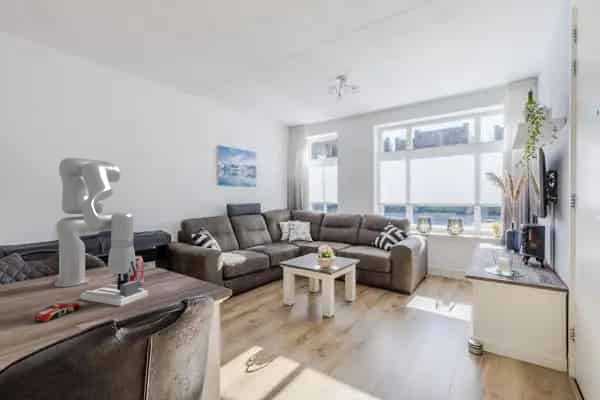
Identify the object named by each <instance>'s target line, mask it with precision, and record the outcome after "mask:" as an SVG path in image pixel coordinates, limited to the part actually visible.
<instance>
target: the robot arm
mask: <svg viewBox="0 0 600 400" xmlns="http://www.w3.org/2000/svg"><path fill="white" fill-rule="evenodd" d="M58 167H59V168H58V171H59V176H60V179H61V183H62V192H61V194H62V195H61V210H62V212H64V213H65V214H66V215H67V214H68V215H81V214H82V216H67V217H62V218H60V219H59V220H58V221H57V222H56V224H55V225H56V232H57V238H58V251H59V252H58V253H59V255H58V256H59V257H58V260H59V262H58V263H59V264H58V265H59V267H58V270H59V271H58V274H57V275H56V278H57V279H58V281H56V282H54V286H55V287H56V288H57V287H58V288H67V287H69V288H70V287H73V286H74V287H75V286H80V285H84V284H86V283H88V282H90V278H89V277H86V245H85V243H84V241H82V240H81V238H80V237H83V236H84V237H85V236H93V235H94V236H95V235H97V234H99V233H101V232H111V236H110V237H111V239H110V241H111V244H110V245H111V247H110V248H109V251H108V259H107V261H108V262H107V271H108V272H109V273H111V275H114V276H115V279H116V280H117V281H116V283H117V284H116V285H117V290H120V285H121V284H124V283H128V279H129V276H132V275H134V272H133V271H135V267H136V261H135V256H136V254H135V253H136V252H135V251H136V250H135V249H134V215H133V214H132V213H126V212H125V213H124V212H119V211H118V212H104V202H103V200H106V199H108V198H110V197H111V196H112V195H113V194H114V190H113V187H112V185H111V183H117V182H118V181H119V180H120V178H121V170H120V168H119V167H118V166H117V165H116V164H114V163H110V162H107V161H104V160H99V159H98V160H97V159H89V158H81V157H66V158H64V159H62V160H61V161H60V163H59V166H58ZM86 189H87V192H88V194H87V192H86Z"/></svg>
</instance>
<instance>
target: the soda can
mask: <svg viewBox="0 0 600 400" xmlns="http://www.w3.org/2000/svg"><path fill="white" fill-rule="evenodd" d="M135 261H136V267H135V271H133V272H134V275H132V276H129V279H128V282H131V281H138V287H139V286H141V285H143V283H144V259H143V256H142V255H135Z"/></svg>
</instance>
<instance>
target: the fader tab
mask: <svg viewBox="0 0 600 400" xmlns="http://www.w3.org/2000/svg"><path fill="white" fill-rule="evenodd" d="M138 288H139V286H138V281H131V282H128V283H124V284H121V285H120V295H122V296H124V297H127V296H130V295H132V294H135V293H138Z"/></svg>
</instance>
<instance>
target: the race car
mask: <svg viewBox="0 0 600 400" xmlns="http://www.w3.org/2000/svg"><path fill="white" fill-rule="evenodd" d="M79 309H80V303H79V302H76V301H75V302H65V303H59V302H58V303H54V304H53V303H52V304H51V305H49V306H46V307H45V308H42V310H39V311H38V312H36V314H35V316H34V322H49V321H54V320H56V319H58V318H60V317H62V316H65V315H67V314H70V313H72V312H76V311H78V310H79Z"/></svg>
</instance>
